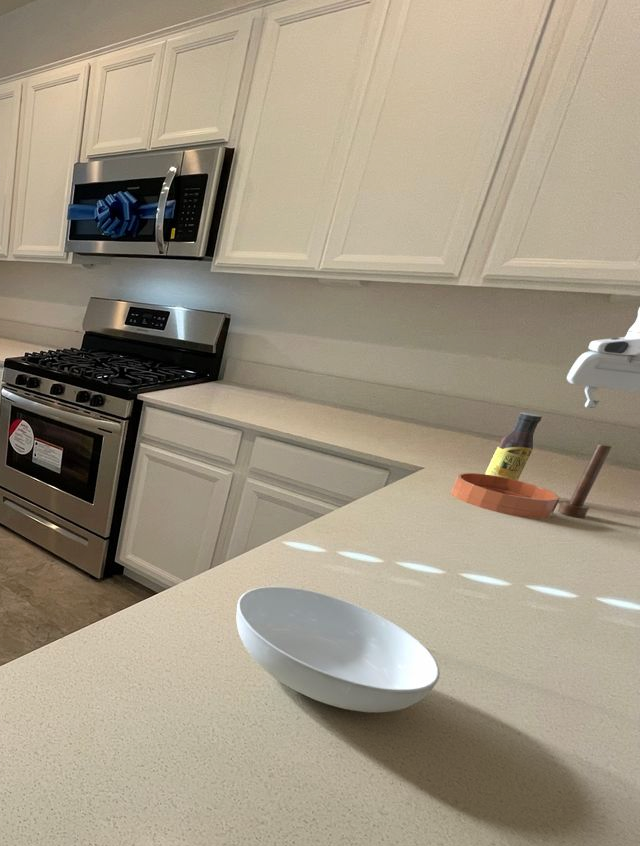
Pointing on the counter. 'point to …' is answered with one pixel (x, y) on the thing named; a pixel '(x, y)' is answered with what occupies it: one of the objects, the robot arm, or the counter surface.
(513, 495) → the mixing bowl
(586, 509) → the brown rod with base
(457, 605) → the counter surface
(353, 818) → the counter surface
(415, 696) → the serving bowl
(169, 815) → the counter surface
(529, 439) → the sauce bottle
